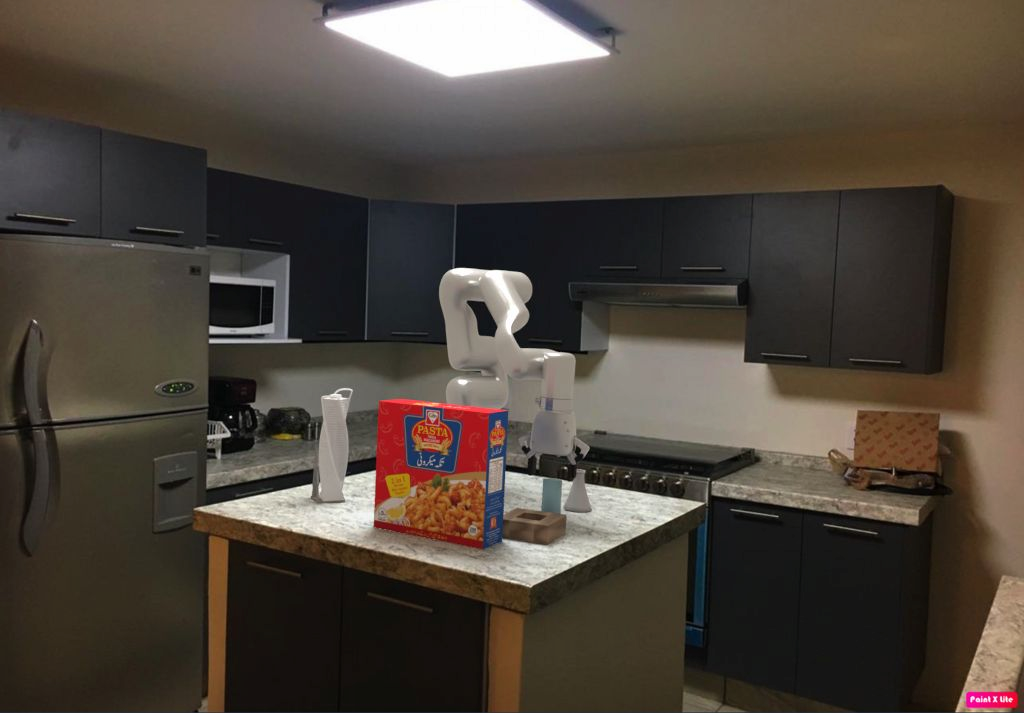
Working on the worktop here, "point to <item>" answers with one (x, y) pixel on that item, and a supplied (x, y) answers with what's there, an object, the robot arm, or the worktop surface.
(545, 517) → the walnut pocket block
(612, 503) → the worktop surface
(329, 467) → the skyscraper
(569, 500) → the flask
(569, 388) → the robot arm
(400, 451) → the pasta box
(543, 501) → the teal peg
